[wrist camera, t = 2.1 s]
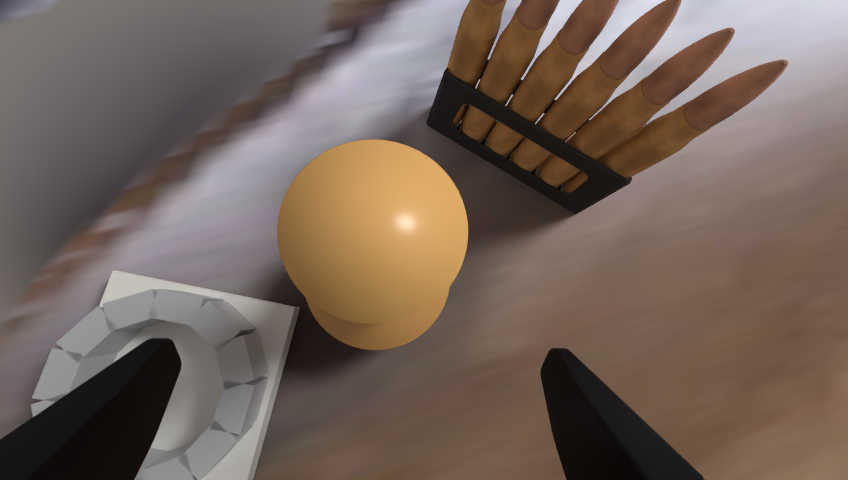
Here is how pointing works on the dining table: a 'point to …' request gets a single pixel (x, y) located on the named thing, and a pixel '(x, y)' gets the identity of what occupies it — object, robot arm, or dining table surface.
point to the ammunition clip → (579, 97)
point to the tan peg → (373, 241)
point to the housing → (186, 370)
